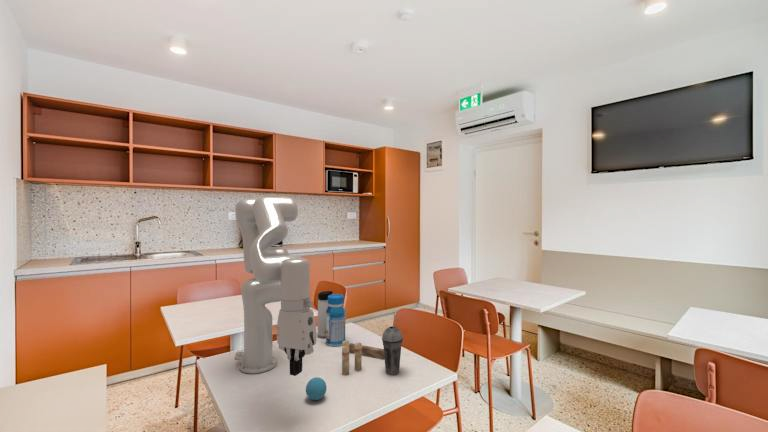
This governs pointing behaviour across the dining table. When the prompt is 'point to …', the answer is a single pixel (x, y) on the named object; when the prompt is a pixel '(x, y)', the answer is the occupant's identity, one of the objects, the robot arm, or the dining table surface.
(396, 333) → the beverage cup
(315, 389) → the ball
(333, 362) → the dining table surface
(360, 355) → the pin
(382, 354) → the back rail
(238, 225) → the robot arm
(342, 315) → the beverage bottle
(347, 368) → the pin front
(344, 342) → the pin
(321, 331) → the travel mug
